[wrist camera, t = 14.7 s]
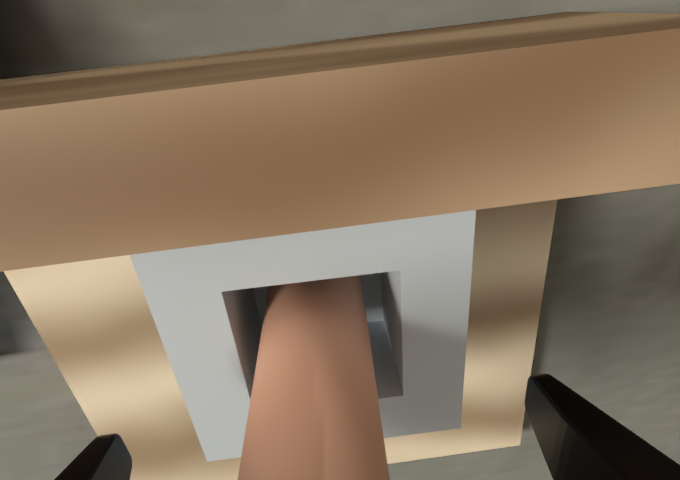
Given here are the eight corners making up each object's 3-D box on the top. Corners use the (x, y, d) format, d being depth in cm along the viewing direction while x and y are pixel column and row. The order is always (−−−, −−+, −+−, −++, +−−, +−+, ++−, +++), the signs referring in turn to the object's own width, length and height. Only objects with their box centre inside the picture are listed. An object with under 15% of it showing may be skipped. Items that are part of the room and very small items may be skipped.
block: (421, 325, 18) (460, 428, 14) (229, 349, 18) (207, 461, 13) (422, 136, 14) (476, 194, 10) (177, 163, 14) (121, 235, 10)
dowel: (363, 304, 15) (409, 638, 8) (280, 314, 15) (241, 654, 8) (356, 232, 14) (404, 561, 6) (262, 243, 14) (192, 582, 6)
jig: (511, 428, 23) (587, 579, 17) (140, 481, 23) (81, 656, 17) (567, 12, 14) (786, 15, 8) (-72, 88, 13) (-395, 158, 7)
